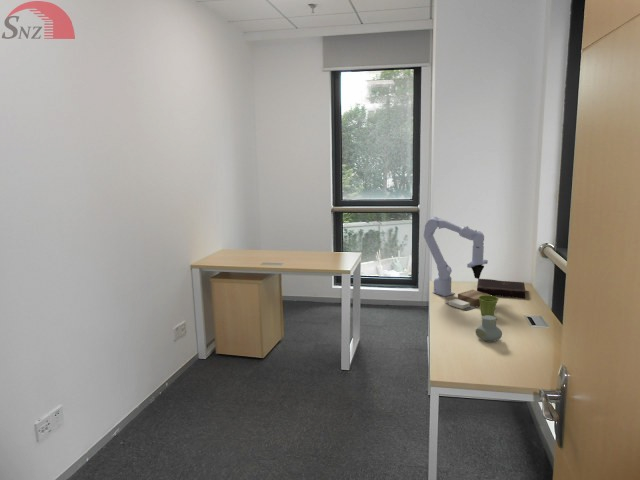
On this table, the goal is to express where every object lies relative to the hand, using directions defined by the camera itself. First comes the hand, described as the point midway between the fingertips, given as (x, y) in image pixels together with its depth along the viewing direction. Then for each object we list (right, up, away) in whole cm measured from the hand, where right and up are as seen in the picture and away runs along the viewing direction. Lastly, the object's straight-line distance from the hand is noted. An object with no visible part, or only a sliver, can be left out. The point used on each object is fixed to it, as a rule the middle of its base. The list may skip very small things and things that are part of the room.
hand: (476, 278), depth 260 cm
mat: (-12, -13, -12) cm, 22 cm away
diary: (+16, -9, +9) cm, 21 cm away
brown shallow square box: (-4, -12, -6) cm, 14 cm away
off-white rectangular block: (-14, -11, -13) cm, 22 cm away
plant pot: (-3, -16, -26) cm, 31 cm away
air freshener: (-13, -22, -55) cm, 60 cm away
